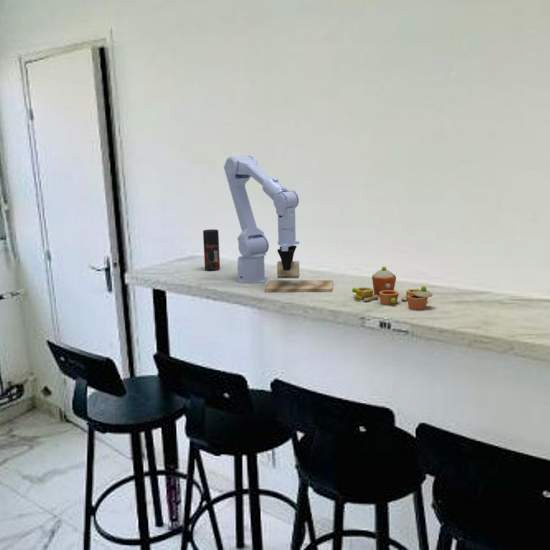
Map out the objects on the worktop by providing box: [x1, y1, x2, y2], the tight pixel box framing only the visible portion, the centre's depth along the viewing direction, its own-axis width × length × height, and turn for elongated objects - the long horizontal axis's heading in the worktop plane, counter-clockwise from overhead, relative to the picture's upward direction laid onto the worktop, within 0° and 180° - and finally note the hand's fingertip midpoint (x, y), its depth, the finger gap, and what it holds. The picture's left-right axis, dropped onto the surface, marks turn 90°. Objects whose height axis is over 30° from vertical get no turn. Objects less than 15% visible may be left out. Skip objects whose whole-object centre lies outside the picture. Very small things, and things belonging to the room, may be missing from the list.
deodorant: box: [202, 228, 221, 271], centre depth 235 cm, size 6×6×15 cm
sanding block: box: [276, 260, 300, 279], centre depth 201 cm, size 7×4×5 cm, turn 83°
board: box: [264, 279, 334, 293], centre depth 201 cm, size 22×12×1 cm, turn 83°
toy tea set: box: [351, 266, 433, 311], centre depth 181 cm, size 26×16×10 cm, turn 46°
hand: (287, 268), depth 201 cm, fingers closed on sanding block, 4 cm apart
